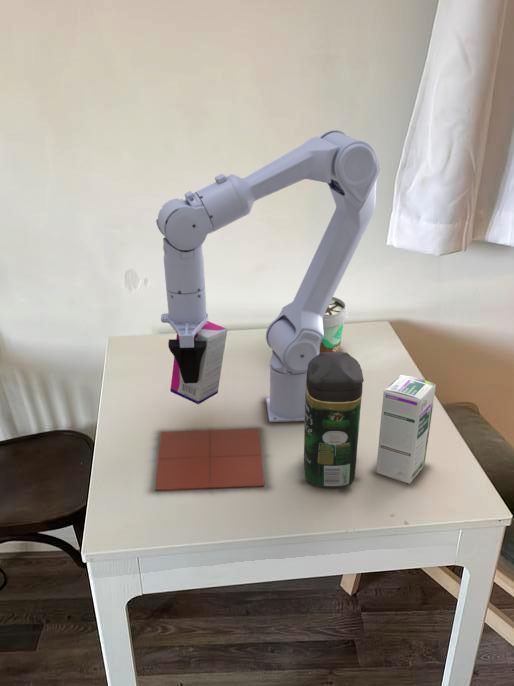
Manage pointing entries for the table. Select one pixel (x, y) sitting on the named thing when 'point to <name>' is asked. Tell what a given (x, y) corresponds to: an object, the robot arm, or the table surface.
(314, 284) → the robot arm
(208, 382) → the supplement box
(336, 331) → the food container
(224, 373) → the table surface
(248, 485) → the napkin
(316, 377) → the coffee jar
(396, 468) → the syrup box
